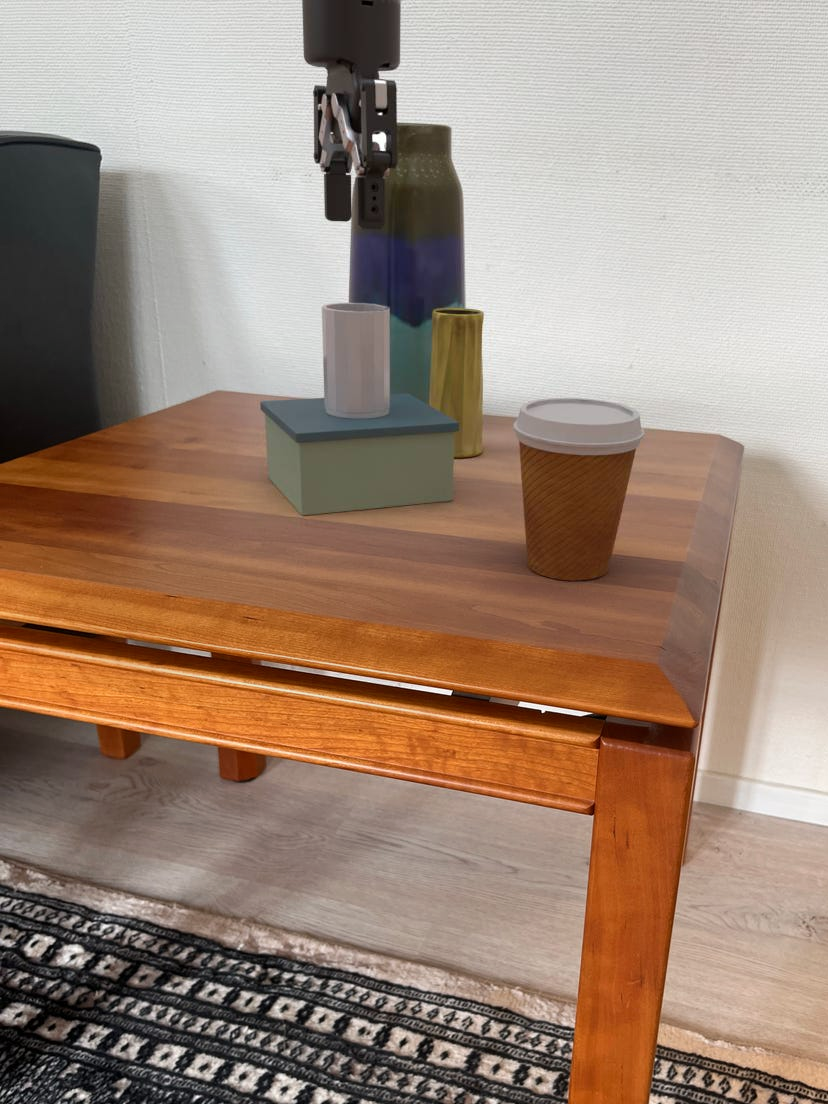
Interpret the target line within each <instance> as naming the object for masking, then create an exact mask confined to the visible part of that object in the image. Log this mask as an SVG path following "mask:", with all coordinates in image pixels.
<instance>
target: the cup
mask: <svg viewBox="0 0 828 1104" xmlns="http://www.w3.org/2000/svg"><path fill="white" fill-rule="evenodd" d="M321 326H322V327H321V328H322V330H321V332H322V363H323V364H322V365H323V366H322V367H323V368H322V369H323V398H324V405H325V412H326V413H327V414H329V415H332V416H335V417H341V418H350V419H369V418H377V417H382V416H385V415H388V414H389V413H390V307H387V306H384V305H378V304H369V303H349V302H335V303H333V302H332V303H327V304H323V305H322V306H321Z"/></svg>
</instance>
